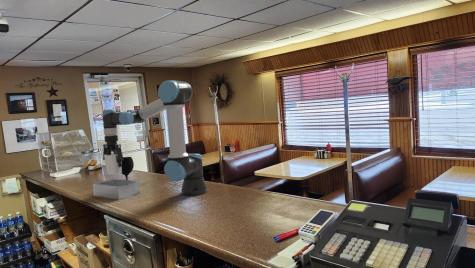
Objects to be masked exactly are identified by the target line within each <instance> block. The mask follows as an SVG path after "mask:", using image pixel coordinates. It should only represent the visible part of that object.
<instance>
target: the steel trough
mask: <svg viewBox="0 0 475 268" xmlns="http://www.w3.org/2000/svg"><path fill="white" fill-rule="evenodd" d="M92 191H93V197H96V198H102V199H108V200H109V199H110V200H115V201H121V200H124V199H127V198H130V197H133V196H137V195H140V193H141V192H140V182H139V180H126V179H118V178H113V179H109V180H104V181H99V182H97V183H93V184H92Z"/></svg>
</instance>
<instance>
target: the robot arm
mask: <svg viewBox="0 0 475 268" xmlns="http://www.w3.org/2000/svg"><path fill="white" fill-rule="evenodd" d="M193 92H194V91H193V87H192V86H191V84H190V83H188V82H186V81H181V80H175V79H173V80H172V79H171V80H165V81H163V82H162V83H161V84H160V85H159V87H158V90H157V95H158V99H155V100H154V101H152V102H151V103H148V104H147V105H145V106H142V107H141V108H139V109H137V110H135V111H134V110H133V111H118V112H117V111H116V110H115V109H103V110H102V111H101V112H102V113H101V114H102V124H103V125H102V126H103V136H104V137H103V138H104V142H105V144H104V143H103V144H102V147H103V149H102V150H103V152H102V160H103V161H105V158H104V155H105V154H106V155H111V153H114V155H116V154H118V155H116V160H117V161H116V166H117V173H120V172H122V170H121V161H123V160H124V159H123V157H124V155H123V152H122V145H121V144H118V141H119V136H118V126H128V125H133V124H143V123H145V122H146V121H147V120H148V119H150V118H152V117H154V116H157V115H158V114H160V113H162V112H164V111H166V120H167V130H168V144H169V154H168V155H167V162H166V163H165V164H164V167H163V171H164V174H165V176H166V177H167V178H168V179H169V180H170V181H172V182H181V181H182V185H181V190H180V191H181V193H180V194H181V195H183V196H198V195H202V194H205V193H207V192H208V186H207V184H206V182H205V179H204V169H203V156H202V154H200V153H188V152H187V150H186V149H187V148H186V147H187V146H186V137H185V136H186V135H185V123H184V122H185V120H184V107H185V106H186V102H188V101H190V100H191V98H192V97H193ZM118 159H119V160H118ZM120 174H121V173H120Z"/></svg>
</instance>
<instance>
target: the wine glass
mask: <svg viewBox="0 0 475 268" xmlns="http://www.w3.org/2000/svg"><path fill="white" fill-rule="evenodd" d="M123 159H124V160H123V161H121V165H122V173H121V174H122V175H123V176H125V180H128V179H129V177H128V176H129V175H130V174H131V173H132V172H133V170H134V166H135V165H134V164H135V163H134V159H133V157H132V156H123Z"/></svg>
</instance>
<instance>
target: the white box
mask: <svg viewBox="0 0 475 268" xmlns="http://www.w3.org/2000/svg"><path fill="white" fill-rule="evenodd" d="M116 155H118V154H116ZM116 155H114V153H113V152H111V155H106V154H105V155H104V158H105V160H104V163H105V169H106V175H108V176H114V175H120V174H122V172H120V173H117V166H116V161H117V160H116ZM118 160H119V159H118ZM121 170H122V165H121Z"/></svg>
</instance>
